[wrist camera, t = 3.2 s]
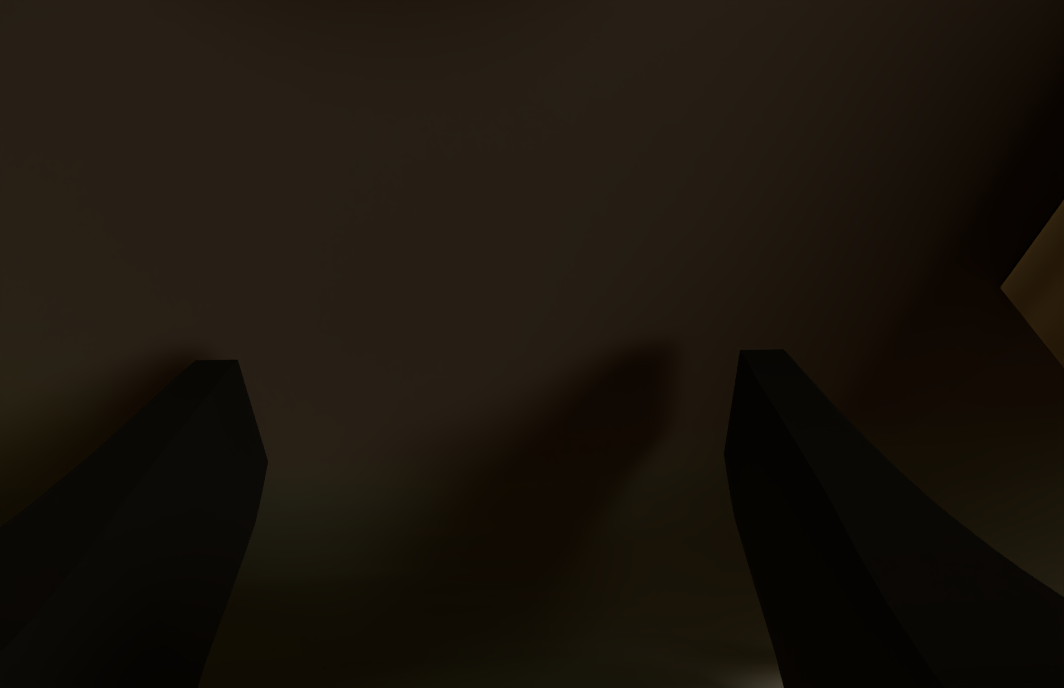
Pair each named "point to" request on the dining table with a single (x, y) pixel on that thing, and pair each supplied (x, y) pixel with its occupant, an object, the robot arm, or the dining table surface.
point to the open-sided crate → (1042, 285)
